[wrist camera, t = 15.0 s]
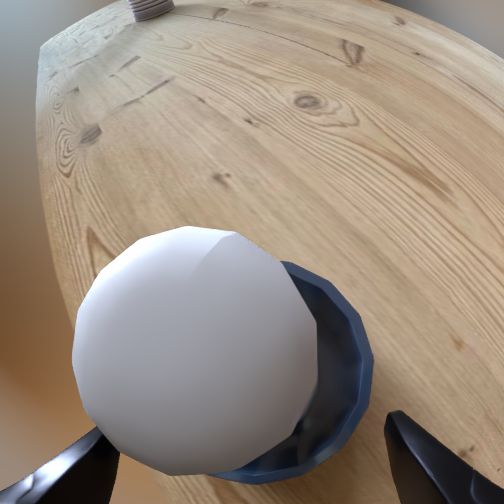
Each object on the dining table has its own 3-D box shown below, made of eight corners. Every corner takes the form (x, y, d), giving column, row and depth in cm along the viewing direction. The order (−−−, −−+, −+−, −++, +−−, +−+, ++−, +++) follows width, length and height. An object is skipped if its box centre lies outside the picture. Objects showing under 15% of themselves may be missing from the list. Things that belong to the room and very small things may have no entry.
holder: (291, 486, 12) (289, 519, 8) (151, 396, 16) (105, 393, 12) (380, 340, 16) (409, 320, 11) (237, 267, 19) (218, 226, 15)
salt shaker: (334, 401, 14) (455, 428, 3) (237, 445, 14) (89, 548, 2) (286, 312, 17) (258, 125, 5) (196, 354, 16) (15, 257, 5)
